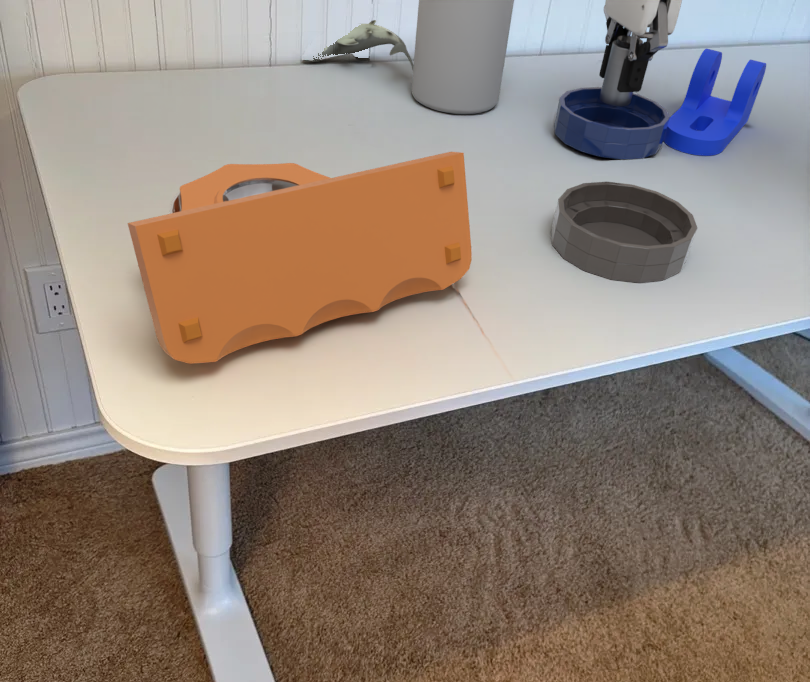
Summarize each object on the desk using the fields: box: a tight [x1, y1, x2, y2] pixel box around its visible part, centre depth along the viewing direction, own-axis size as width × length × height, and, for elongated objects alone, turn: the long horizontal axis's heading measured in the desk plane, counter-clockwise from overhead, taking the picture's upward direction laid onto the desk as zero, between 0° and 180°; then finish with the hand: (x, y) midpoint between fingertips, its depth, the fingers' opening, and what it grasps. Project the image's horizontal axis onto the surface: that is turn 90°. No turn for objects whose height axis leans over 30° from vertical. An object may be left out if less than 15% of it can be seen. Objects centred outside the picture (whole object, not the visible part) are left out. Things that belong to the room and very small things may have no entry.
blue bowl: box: [553, 86, 671, 160], centre depth 110 cm, size 14×14×4 cm
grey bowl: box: [550, 181, 698, 284], centre depth 87 cm, size 14×14×4 cm
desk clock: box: [127, 151, 473, 365], centre depth 76 cm, size 12×30×20 cm
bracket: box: [663, 48, 767, 157], centre depth 113 cm, size 18×8×9 cm, turn 148°
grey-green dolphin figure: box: [313, 19, 414, 70], centre depth 124 cm, size 14×17×8 cm
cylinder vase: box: [411, 0, 515, 115], centre depth 110 cm, size 12×12×25 cm
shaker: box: [600, 35, 644, 106], centre depth 105 cm, size 4×4×8 cm
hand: (619, 82), depth 106 cm, fingers closed on shaker, 4 cm apart
